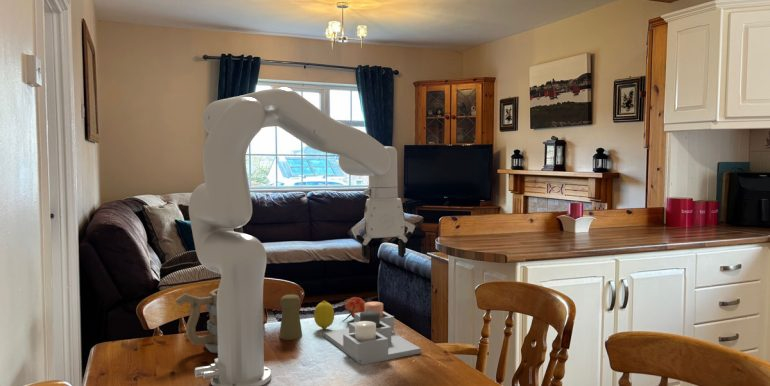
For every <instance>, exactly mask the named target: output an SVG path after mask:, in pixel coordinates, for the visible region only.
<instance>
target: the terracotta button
mask: <svg viewBox="0 0 770 386" xmlns="http://www.w3.org/2000/svg"><path fill="white" fill-rule="evenodd" d="M365 311H377V312H379V313H380V318H382V317H383V311H384V303H383V302H380V301H367V302H366V303H365Z"/></svg>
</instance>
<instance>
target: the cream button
mask: <svg viewBox="0 0 770 386" xmlns="http://www.w3.org/2000/svg"><path fill="white" fill-rule="evenodd" d="M355 339H356V340H357V341H359V342H364V341H370V340H375V339H376V323H374V322H371V321H361V322H357V323H355Z"/></svg>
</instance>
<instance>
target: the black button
mask: <svg viewBox="0 0 770 386" xmlns="http://www.w3.org/2000/svg"><path fill="white" fill-rule="evenodd" d="M361 321H371V322H374V323H376V328H380V313H379V312H377V311H364V312H361V313H360V322H361Z"/></svg>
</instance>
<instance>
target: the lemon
mask: <svg viewBox="0 0 770 386" xmlns="http://www.w3.org/2000/svg"><path fill="white" fill-rule="evenodd" d="M334 310H335V309H334V307H333V306H332V304H331V303H329V302H328V301H326V300H322V301H321V302H319V303H318V304H317V305H316V307H315V308H314V312H313V318H314V322H315V324H316V325H317V326H318V327H319V328H321V329H322V330H326V329H327V328H328V327H330V326H332V325H333V322H334V321H335V311H334Z"/></svg>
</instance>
